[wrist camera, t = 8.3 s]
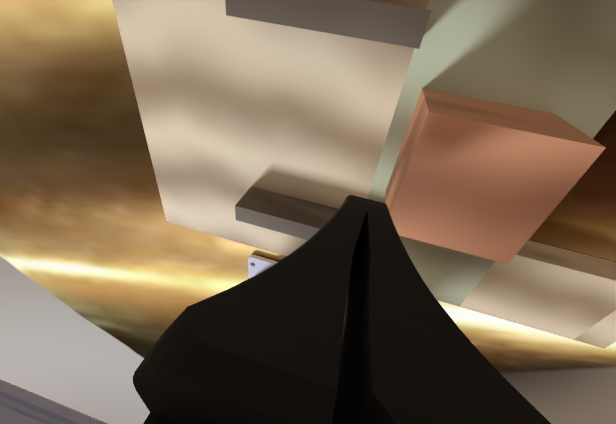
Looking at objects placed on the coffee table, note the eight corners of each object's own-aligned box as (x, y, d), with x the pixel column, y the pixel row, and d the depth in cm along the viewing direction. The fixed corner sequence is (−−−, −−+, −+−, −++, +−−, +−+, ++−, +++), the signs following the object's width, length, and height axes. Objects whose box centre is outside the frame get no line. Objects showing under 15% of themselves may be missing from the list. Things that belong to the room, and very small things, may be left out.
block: (487, 215, 16) (507, 264, 13) (385, 190, 17) (382, 231, 14) (555, 113, 13) (605, 147, 10) (422, 88, 13) (428, 111, 10)
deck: (589, 323, 21) (626, 385, 18) (180, 208, 26) (146, 240, 22) (1161, -91, 8) (1773, -174, 4) (104, -176, 13) (-11, -249, 9)
